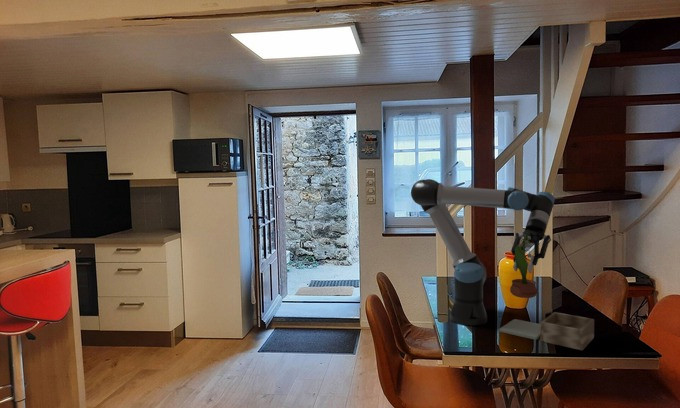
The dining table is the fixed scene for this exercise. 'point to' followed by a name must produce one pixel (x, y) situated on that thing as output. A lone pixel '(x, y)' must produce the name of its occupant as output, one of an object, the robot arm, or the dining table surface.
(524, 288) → the potted flower
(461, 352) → the dining table surface
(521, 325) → the pad
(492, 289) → the dining table surface
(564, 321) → the open wooden box
